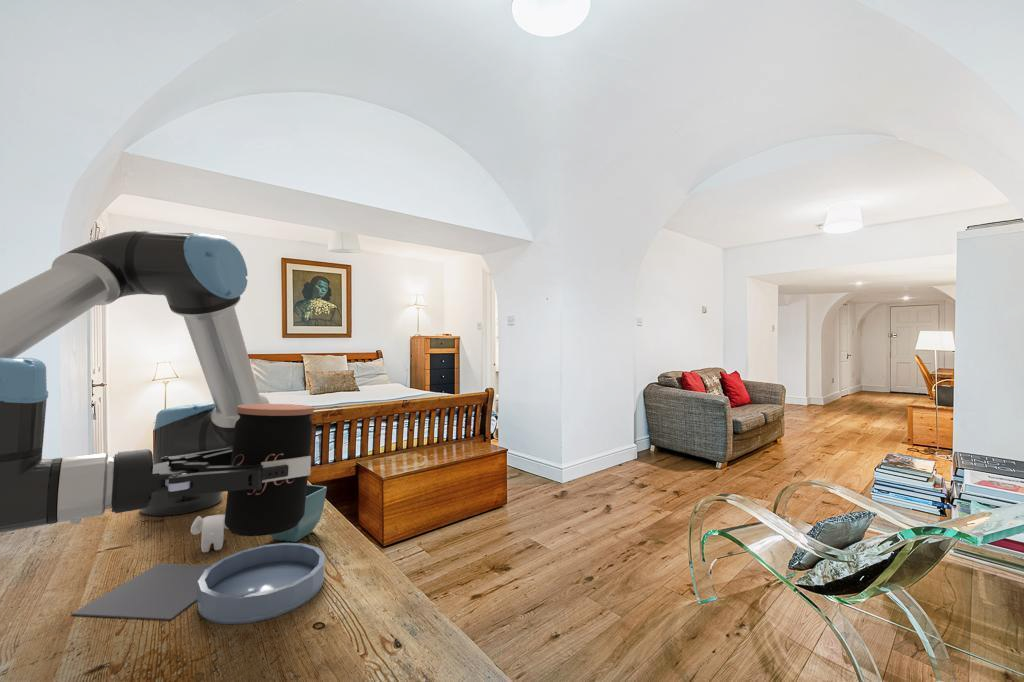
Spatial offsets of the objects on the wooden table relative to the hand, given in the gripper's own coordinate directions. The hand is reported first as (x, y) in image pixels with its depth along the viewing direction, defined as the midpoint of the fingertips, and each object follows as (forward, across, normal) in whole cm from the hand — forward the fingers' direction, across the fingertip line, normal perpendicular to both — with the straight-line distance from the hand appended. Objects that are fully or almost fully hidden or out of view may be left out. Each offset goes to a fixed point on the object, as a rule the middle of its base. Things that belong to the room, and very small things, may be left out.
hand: (298, 458), depth 69 cm
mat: (-15, -10, -20) cm, 27 cm away
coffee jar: (-4, 0, -10) cm, 11 cm away
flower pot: (+5, -18, -20) cm, 27 cm away
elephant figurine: (-7, -22, -20) cm, 31 cm away
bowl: (-4, 0, -20) cm, 20 cm away
